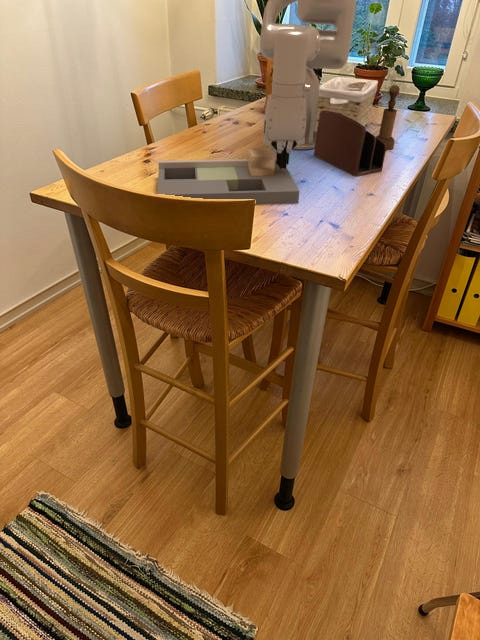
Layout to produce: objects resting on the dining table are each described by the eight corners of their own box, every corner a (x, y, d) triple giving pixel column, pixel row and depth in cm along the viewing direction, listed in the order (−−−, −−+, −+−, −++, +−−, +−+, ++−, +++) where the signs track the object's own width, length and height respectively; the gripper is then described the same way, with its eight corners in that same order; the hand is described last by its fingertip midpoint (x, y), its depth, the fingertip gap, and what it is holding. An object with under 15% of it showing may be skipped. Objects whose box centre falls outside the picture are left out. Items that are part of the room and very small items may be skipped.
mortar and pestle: (395, 145, 151) (408, 84, 140) (391, 151, 146) (404, 88, 135) (374, 142, 153) (386, 82, 142) (370, 147, 148) (382, 86, 137)
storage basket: (329, 118, 176) (335, 74, 167) (372, 123, 171) (380, 79, 162) (310, 134, 159) (315, 87, 150) (356, 141, 154) (364, 93, 145)
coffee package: (292, 117, 175) (297, 51, 162) (260, 114, 178) (263, 48, 165) (298, 111, 183) (303, 47, 169) (267, 108, 186) (271, 45, 172)
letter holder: (355, 177, 128) (364, 124, 119) (312, 156, 142) (318, 106, 133) (382, 172, 132) (393, 120, 123) (338, 151, 146) (345, 103, 137)
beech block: (270, 167, 124) (271, 148, 121) (274, 175, 119) (275, 156, 116) (248, 167, 123) (248, 148, 120) (251, 176, 119) (251, 156, 116)
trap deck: (283, 174, 128) (284, 158, 125) (298, 202, 113) (300, 185, 111) (159, 177, 125) (158, 160, 122) (158, 207, 110) (156, 188, 107)
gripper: (314, 86, 114) (306, 161, 125) (254, 87, 112) (251, 162, 123) (322, 93, 108) (313, 171, 119) (259, 94, 106) (255, 172, 117)
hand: (281, 166), depth 121 cm, fingers closed
